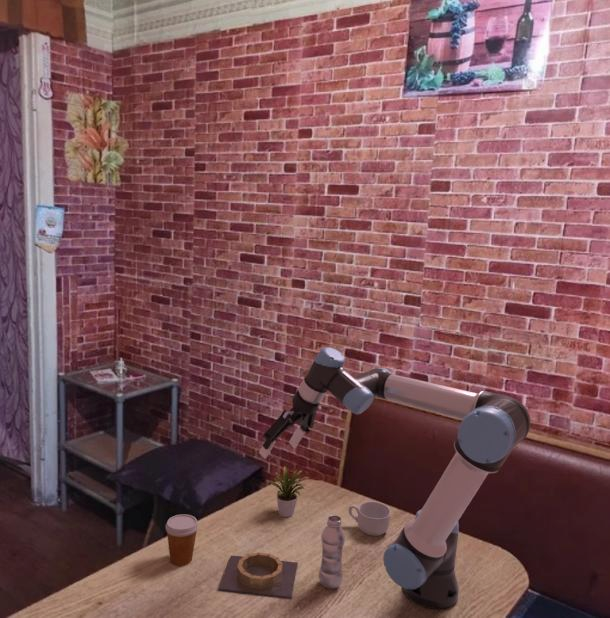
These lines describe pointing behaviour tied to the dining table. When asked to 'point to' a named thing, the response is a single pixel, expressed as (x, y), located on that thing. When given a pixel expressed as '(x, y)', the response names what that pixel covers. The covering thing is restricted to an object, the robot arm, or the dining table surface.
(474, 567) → the dining table surface
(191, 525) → the disposable coffee cup
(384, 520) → the teacup
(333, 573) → the plastic bottle
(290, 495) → the house plant
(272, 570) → the collar stand
